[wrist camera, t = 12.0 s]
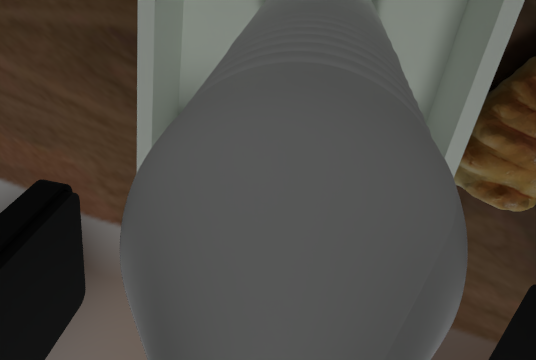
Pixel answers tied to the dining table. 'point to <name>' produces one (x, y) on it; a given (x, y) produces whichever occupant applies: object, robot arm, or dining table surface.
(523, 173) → the pastry
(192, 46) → the bin
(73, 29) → the dining table surface
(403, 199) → the water bottle
